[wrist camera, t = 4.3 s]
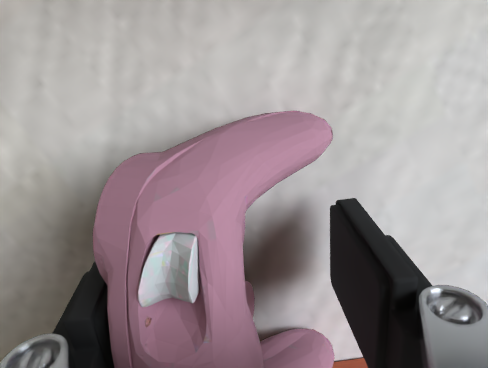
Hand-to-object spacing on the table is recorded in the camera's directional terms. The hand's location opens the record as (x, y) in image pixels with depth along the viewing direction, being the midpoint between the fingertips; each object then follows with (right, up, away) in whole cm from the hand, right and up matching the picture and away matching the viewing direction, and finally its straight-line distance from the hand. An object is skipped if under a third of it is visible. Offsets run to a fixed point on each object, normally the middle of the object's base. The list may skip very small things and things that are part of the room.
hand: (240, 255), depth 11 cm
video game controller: (0, 0, +1) cm, 1 cm away
